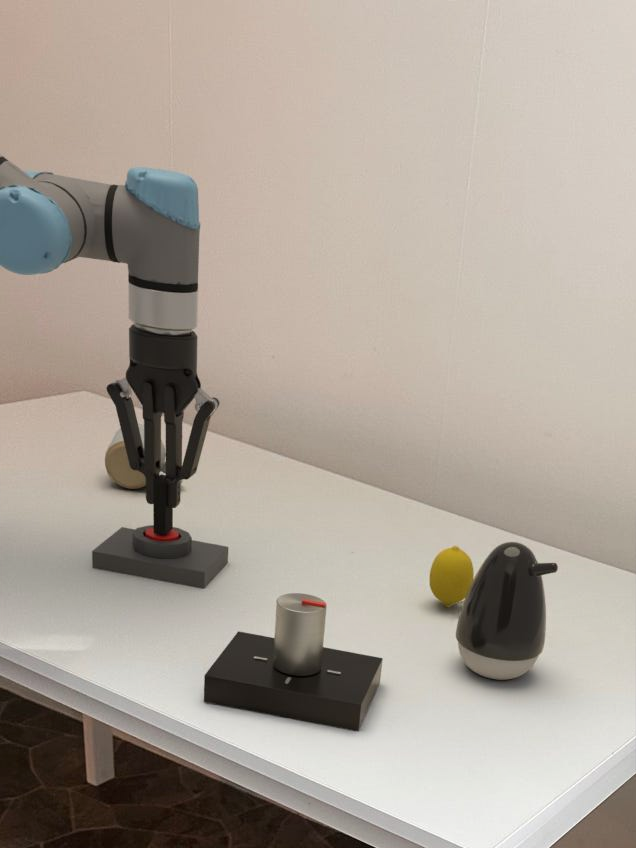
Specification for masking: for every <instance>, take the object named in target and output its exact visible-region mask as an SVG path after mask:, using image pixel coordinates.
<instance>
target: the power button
mask: <svg viewBox="0 0 636 848" xmlns="http://www.w3.org/2000/svg"><path fill="white" fill-rule="evenodd" d="M145 537H146V538H149V539H151V540H156V541H174V540H179V533H178V532H177V531H175V530H173V529H172V530H171V531H170V532H169V533H167V534H166V535H161V534H155V533H154V528H150V529H147V530H146V532H145Z"/></svg>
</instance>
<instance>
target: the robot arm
mask: <svg viewBox="0 0 636 848" xmlns="http://www.w3.org/2000/svg"><path fill="white" fill-rule="evenodd" d="M199 205H200V204H199V188H198V185H197V183H196V181H195V180H194V179H193V177H191V176H190V175H188V174H185V173H183V172H178V171H173V170H167V169H160V168H152V167H143V166H134V167H131V168H129V169H128V171H127V172H126V180H125V181H124V184H109V183H104V182H100V181H99V182H98V181H92V180H88V179H81V178H76V177H70V176H64V175H60V174H54V173H53V172H49V171H29V170H28V171H27V170H22V169H21V168H20V167H18V166H17V165H15V164H14V163H13V162H12V161H10V160H8V159H7V158H6V157H5V156H4V155H3V154H1V153H0V266H1V267H2V268H4V269H5V270H6V271H9V272H10V273H13V274H17V275H23V276H31V275H32V276H34V275H40V274H48V273H51V272H52V271H54V270H57V269H58V268H59V267H60V266H61V265H63V264H66V263H68V262H70V261H73V260H75V259H77V258H85V259H93V260H100V261H107V262H112V263H119V264H120V263H122V264H126V265H127V271H128V275H127V276H128V279H127V280H128V319H129V320H130V321H131V323H132V324H131V325H130V327H129V328H128V357H129V365H128V367H127V369H126V371H125V377H123V378H122V379H117V380H115V381H113V382H111V383H109V384H107V385H106V392H107V394H108V395H109V397H110V399H111V401H112V403H113V404H114V405H115V410H116V414H117V418H118V423H119V428H121V431H122V435H123V440H124V444H125V448H126V452H127V456H128V461H129V465H130V468H131V469H132V470H137V471H139V472H141V473H143V474H144V476H145V478H146V486H145V501H146V504H150V505H152V506H153V525H154V533H155V534H161V535H166V534H167V533H169V532H170V531H171V530H172V529H173V527H174V525H173V523H174V509H176V508H177V507H178V506H179V505H180V503H181V487H182V486H181V485H182V483H181V480H183V481H184V480H189V479H190V478H191V477H193V476H194V475H195V474H196V473H197V470H198V467H199V464H200V459H201V455H202V452H203V448H204V445H205V444H204V443H205V440H206V437H207V432H208V430H209V425H210V422H211V417H212V416H213V415H214V413H215V412H216V411H217V410H218V409H219V407H220V400H219V399H218V398H217V397H211V396H210V395H209V394H207V392H205V391H204V390H203V389H202V388H201V387H202V384H201V381H200V377H199V376H198V335H197V334H196V331H195V329H196V328H197V327H198V317H199V316H198V315H199V314H198V313H199V311H198V309H199V264H200V263H199V260H200V232H201V222H200V208H199V207H200V206H199ZM133 393H134V394H135V396H136V399H138V401H139V403H140V404H141V406H142V419H143V425H144V448H143V444H142V439H141V435H140V431H139V426H138V424H139V423H138V418H137V413H136V410H135V406H134V405H135V404H134V401H133V399H132V395H133ZM194 399H195V404H194V409H195V411H196V412H197V413H196V414H195V416H194V419H193V423H192V426H191V430H190V434H189V436H188V437H189V438H188V442H187V446H186V449H185V454H184V457H183V421H184V417H185V410H186V409H187V408H188V406H189V405H190V404H191V402H192V401H194ZM162 416H163V422H164V424H165V455H166V456H165V462H166V474H165V475H164V474H160V473H161V472H162V470H163V468H161V440H162ZM159 475H160V476H159Z"/></svg>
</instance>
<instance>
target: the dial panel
mask: <svg viewBox="0 0 636 848" xmlns="http://www.w3.org/2000/svg"><path fill="white" fill-rule="evenodd" d="M274 638H275V637H271V636H265V635H260V634H256V633H250V632H244V631H239V630H238V631H237V632H236V634H235V635H234V636H233V637H232V638H231V640H230V641H229V643H228V644H227V645H226V647H225V648H224V649H223V651H222V652H221V653H220V655H219V656H218V657H217V659H216V660H215V661H214V662H213V663H212V665H211V666H210V667H209V669H208V670H207V672H206V673H205V674H204V675H203V676H204V679H203V680H204V681H203V682H204V683H203V703H207V704H212V705H218V706H223V707H229V708H234V709H238V710H239V709H240V710H244V711H249V712H256V713H260V714H266V715H271V716H276V717H280V718H281V717H282V718H288V719H291V720H292V719H293V720H297V721H298V720H299V721H303V722H307V723H308V722H309V723H312V724H313V723H315V724H318V725H325V726H329V725H330V726H329V727H335V726H336V728H340V727H342V728H341V729H345V728H347V729H346V730H351V729H352V730H351V731H356V730H357V731H356V732H359V730H360V728H361V726H362V724H363V722H364V720H365V718H366V715H367V713H368V711H369V709H370V706H371V704H372V702H373V700H374V697H375V695H376V693H377V691H378V689H379V686H380V684H381V676H382V669H383V659H384V658H383V657H379V656H374V655H373V656H372V655H366V654H362V653H358V652H357V653H356V652H353V651H352V652H351V651H347V650H341V649H335V648H331V647H325V646H323V654H322V666H321V670H320V671H319V672H318V673H316V674H313V675H309V676H294V675H289V674H285V673H282V672H280V671H278V670H277V669H276V668H275V667H274V665H273V654H274Z"/></svg>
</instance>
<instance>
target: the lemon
mask: <svg viewBox="0 0 636 848" xmlns="http://www.w3.org/2000/svg"><path fill="white" fill-rule="evenodd" d="M474 573H475V572H474V566H473V561H472V559H471V558H470V556H469V555H468V554H467V553H466V551H464V550H463V549H461V548H460V547H459V546H457V545H453V546H451V547H448V548H445V549H443V550H442V551H440V552H439V553H438V554H436V556H435V558H434V559H433V561H432V564H431V566H430V571H429V587H430V591H431V593H432V594H433V597H435V598H436V599H437V600H438V601H439V602H441V603H442V605H444V607H447V608H450V607H451V606H453V605H454V604H458V603H460V602H462V601H464V600H465V597H466V595H467V592H468V590H469V588H470V585H471V583H472V581H473V579H474V577H475V575H474Z"/></svg>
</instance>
